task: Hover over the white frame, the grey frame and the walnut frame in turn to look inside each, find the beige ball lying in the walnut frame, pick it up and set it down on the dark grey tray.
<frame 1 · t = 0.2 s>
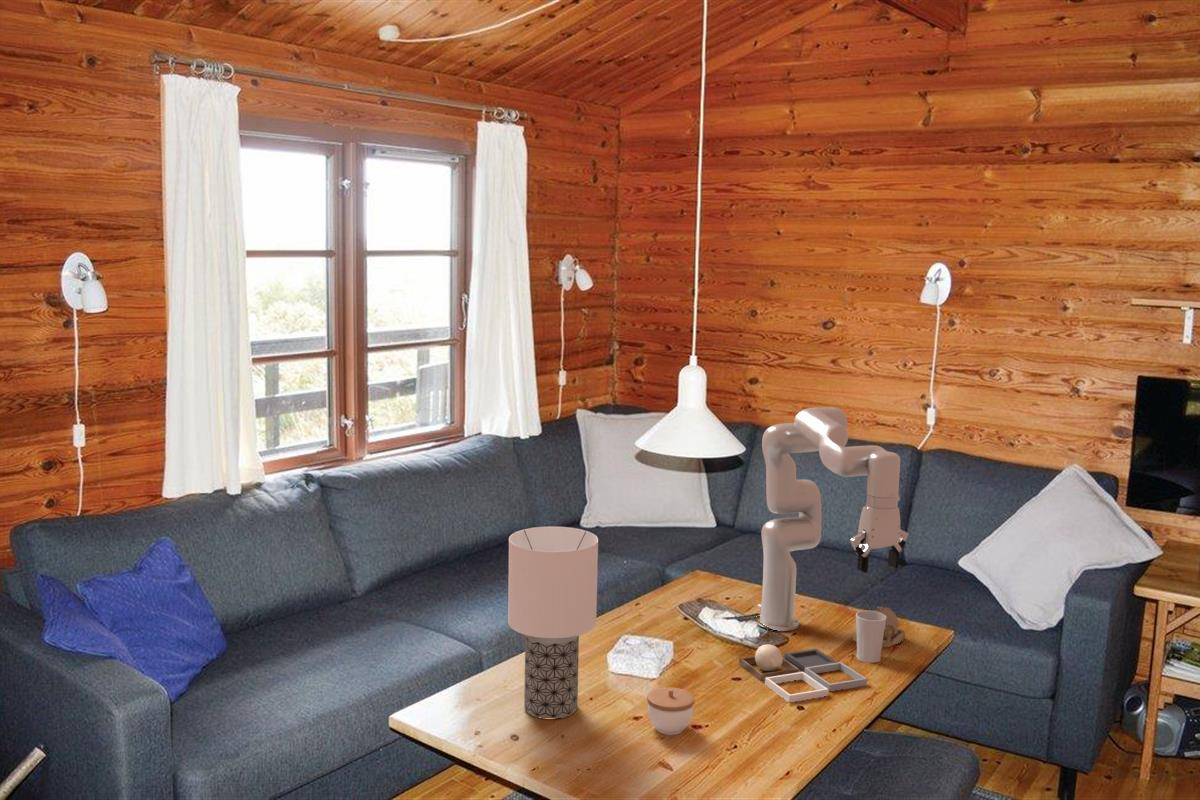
hand: (877, 568, 259), 31 cm above the table, tool pointing down, fingers open, 9 cm apart
lidded jar: (669, 729, 238), on the table
dark grey tray: (810, 663, 277), on the table
beige ball: (768, 671, 272), resting in walnut frame
white frame: (796, 690, 260), on the table
lamp: (550, 709, 247), on the table
cup: (868, 658, 281), on the table
ceramic model: (878, 640, 295), on the table
walnut frame: (768, 670, 272), on the table
grey frame: (835, 679, 267), on the table
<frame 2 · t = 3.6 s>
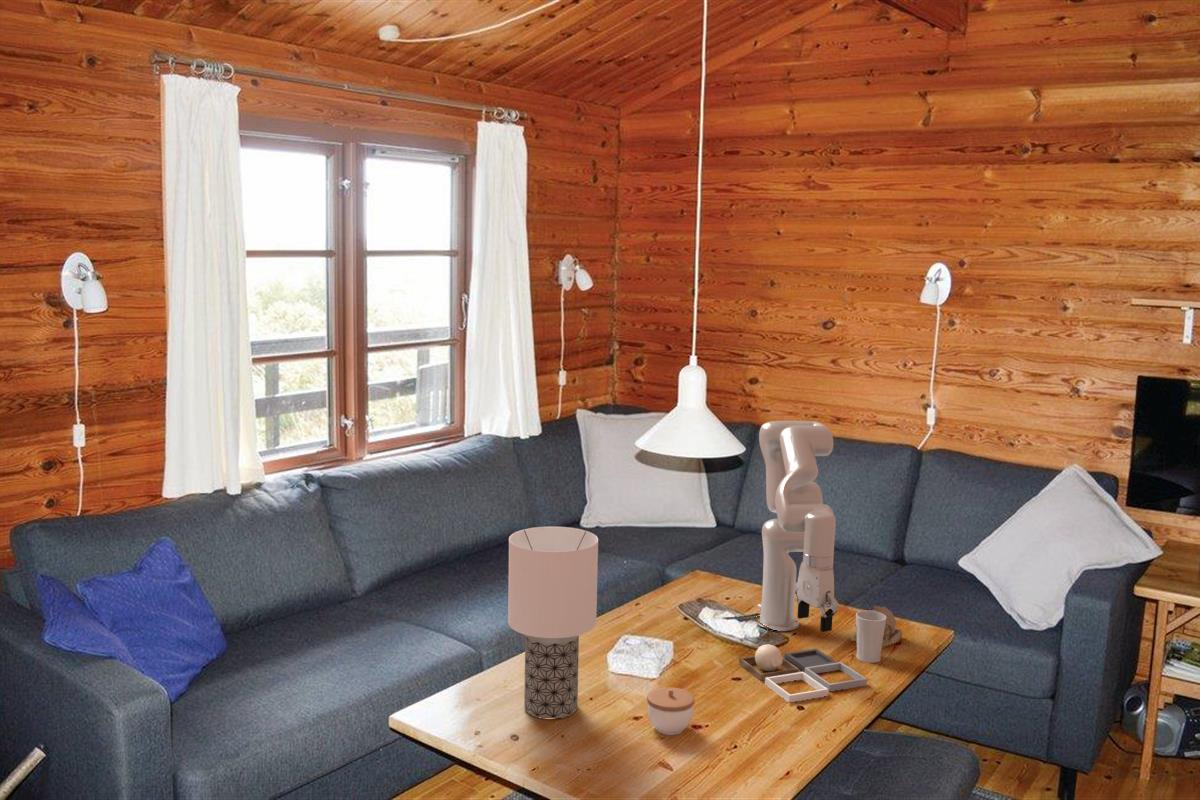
hand: (814, 624, 267), 14 cm above the table, tool pointing down, fingers open, 9 cm apart
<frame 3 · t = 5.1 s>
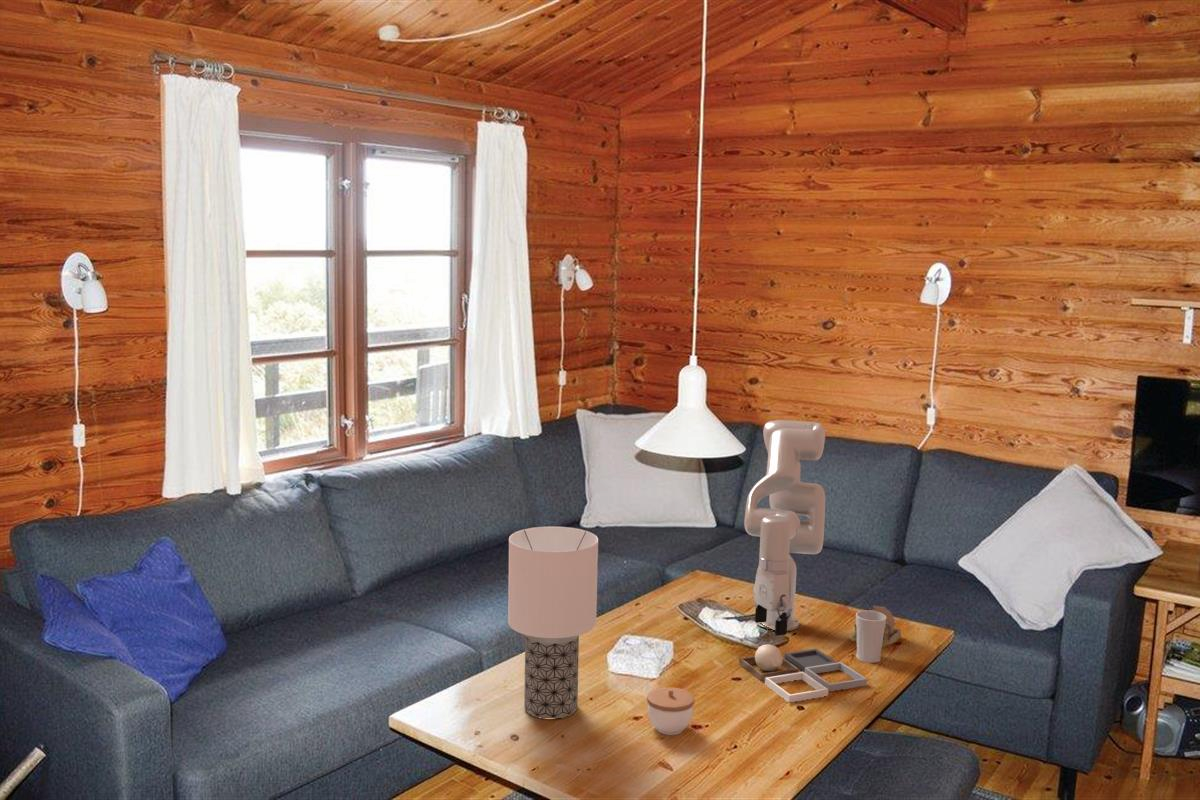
hand: (770, 628, 270), 12 cm above the table, tool pointing down, fingers open, 9 cm apart
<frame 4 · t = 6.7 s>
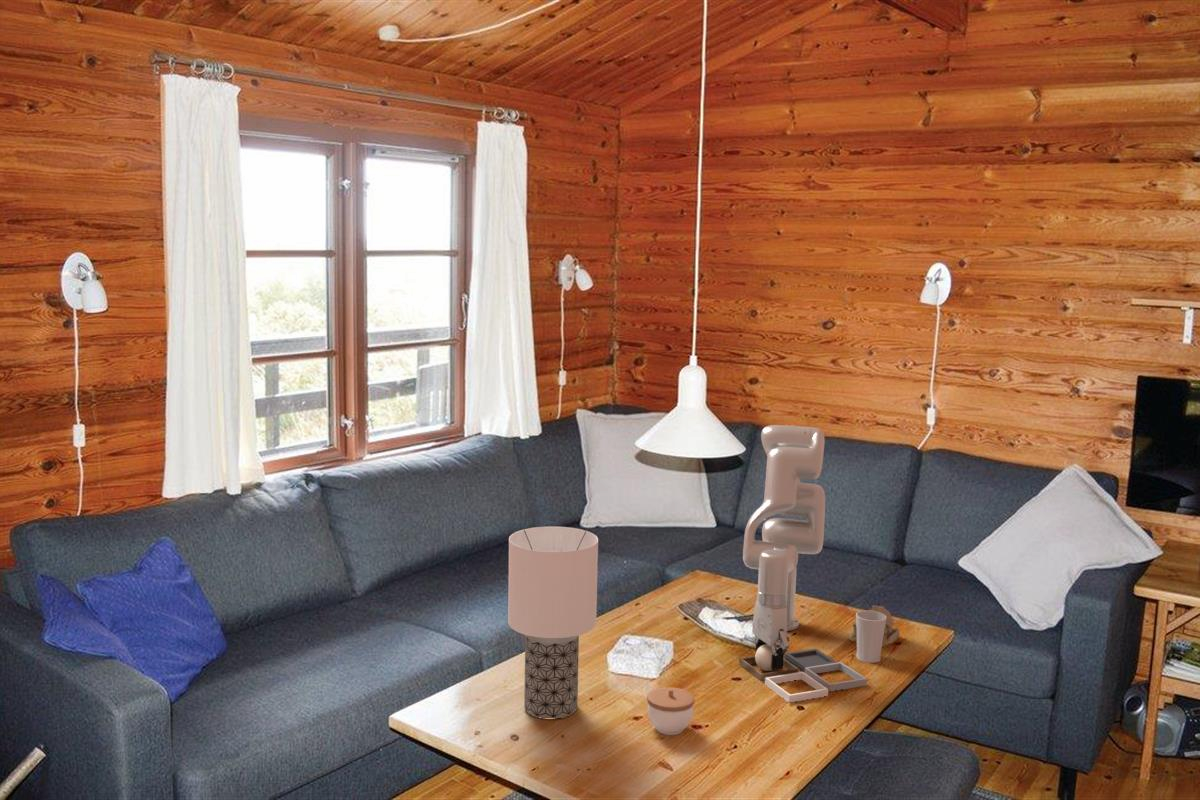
hand: (768, 662, 272), 2 cm above the table, tool pointing down, fingers closed on beige ball, 7 cm apart
beige ball: (768, 671, 272), resting in walnut frame, touching gripper
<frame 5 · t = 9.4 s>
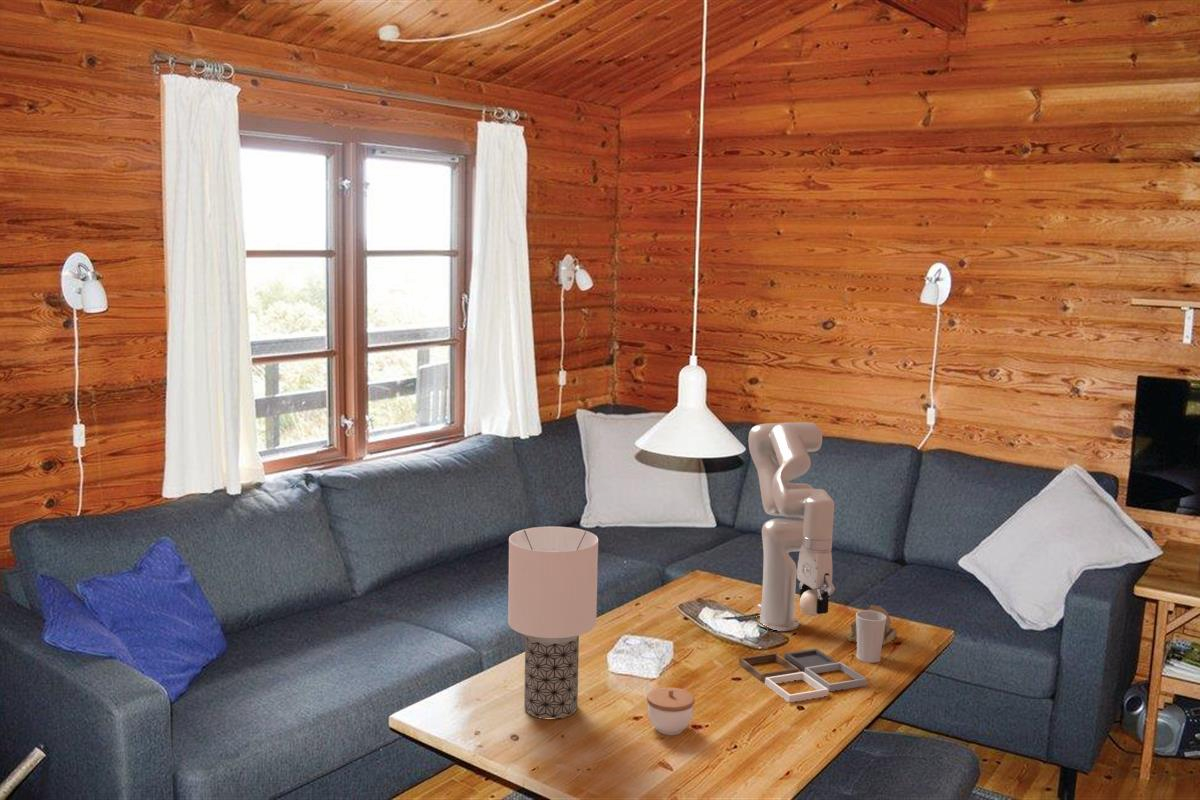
hand: (813, 607, 274), 15 cm above the table, tool pointing down, fingers closed on beige ball, 7 cm apart
beige ball: (813, 615, 275), point 13 cm above the table, touching gripper
when the fingers open (4 cm above the table, at t = 12.1 s): beige ball drops 1 cm, resting on dark grey tray.
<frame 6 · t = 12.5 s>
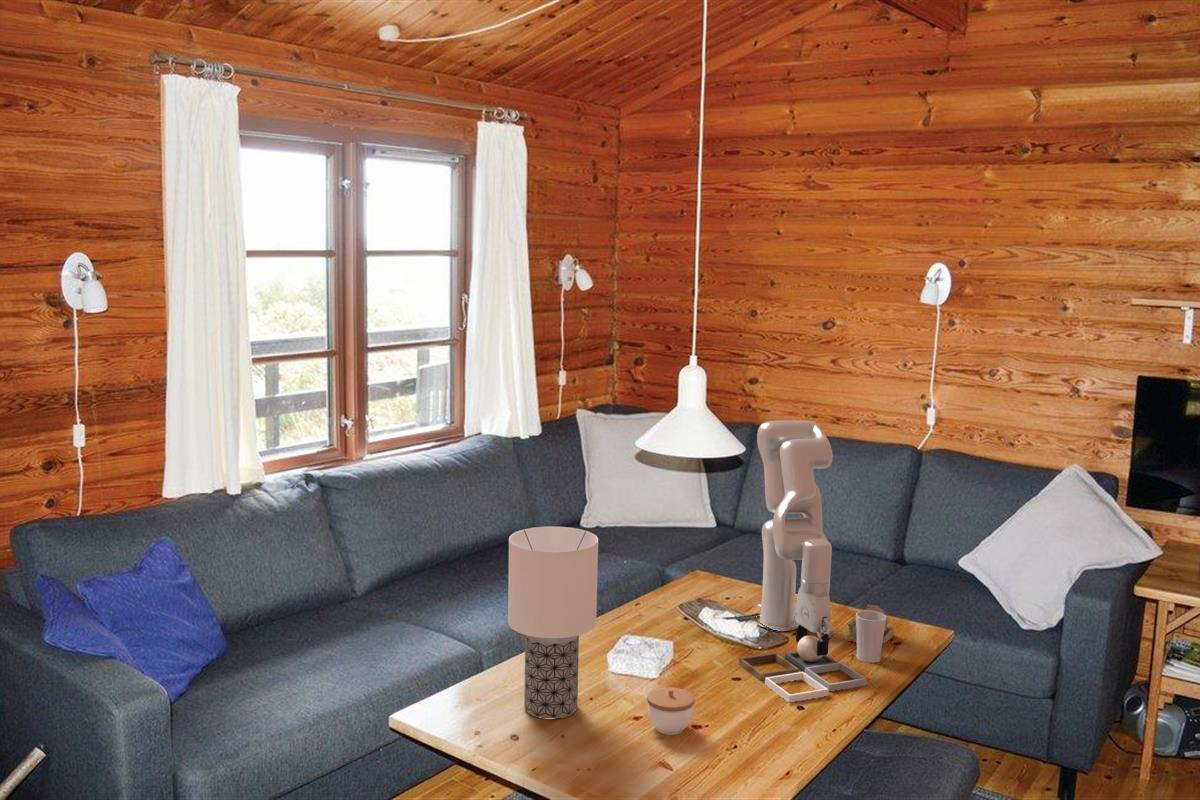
hand: (811, 648, 276), 4 cm above the table, tool pointing down, fingers open, 9 cm apart
beige ball: (810, 661, 277), resting on dark grey tray
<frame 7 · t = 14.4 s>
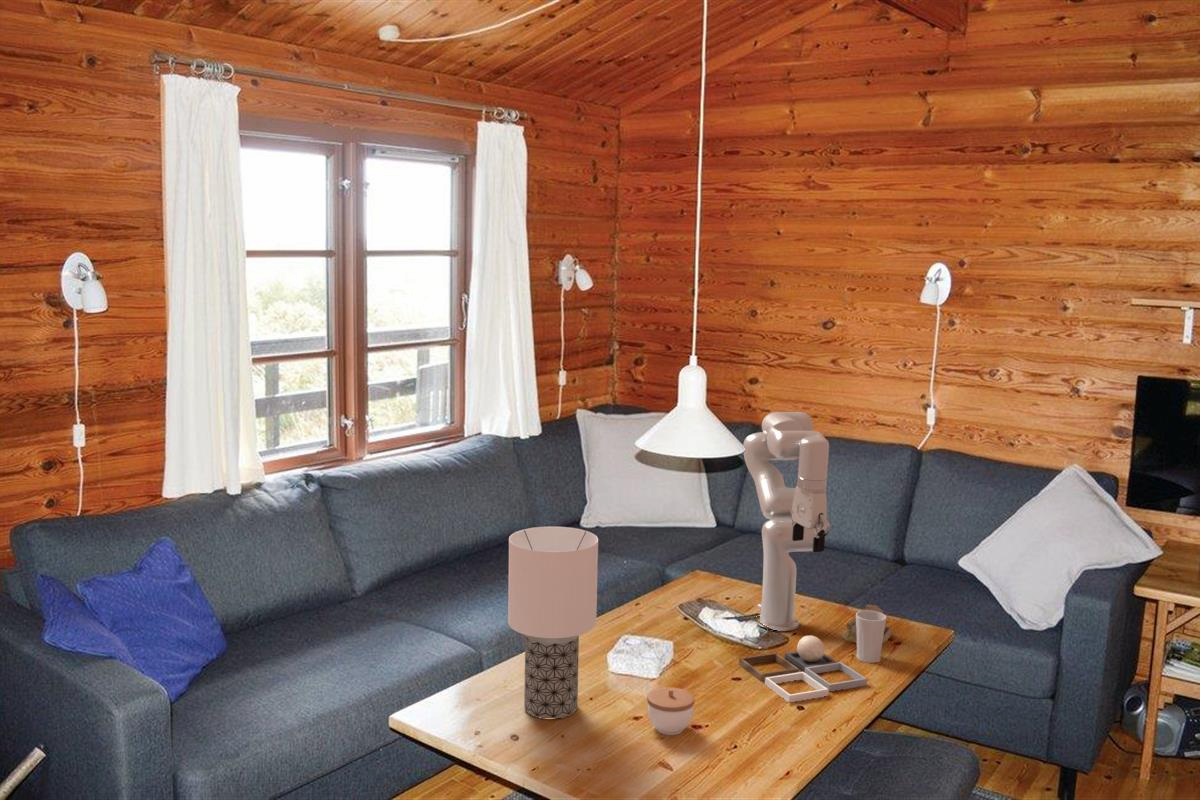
hand: (807, 545, 278), 31 cm above the table, tool pointing down, fingers open, 9 cm apart
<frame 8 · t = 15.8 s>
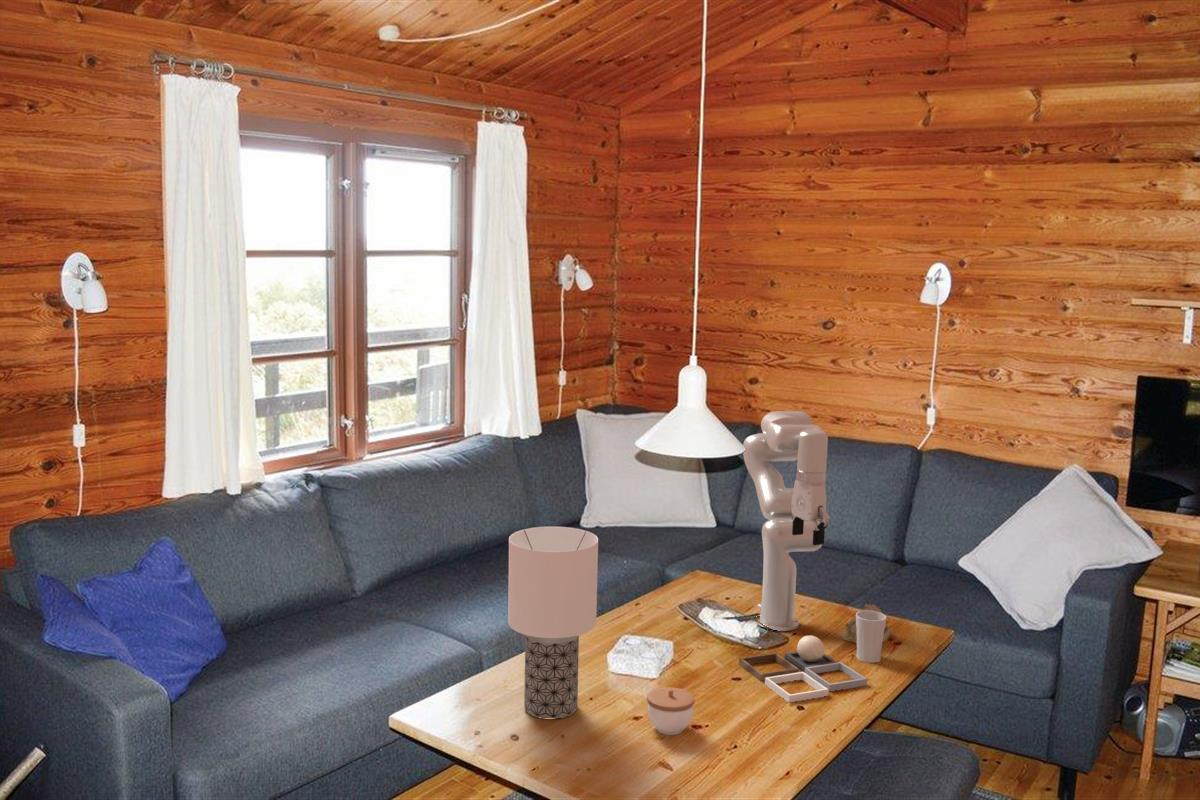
hand: (807, 539, 278), 32 cm above the table, tool pointing down, fingers open, 9 cm apart
at the end: beige ball 0.3 cm from the dark grey tray (horizontally); beige ball resting on dark grey tray; the gripper is holding nothing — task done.
